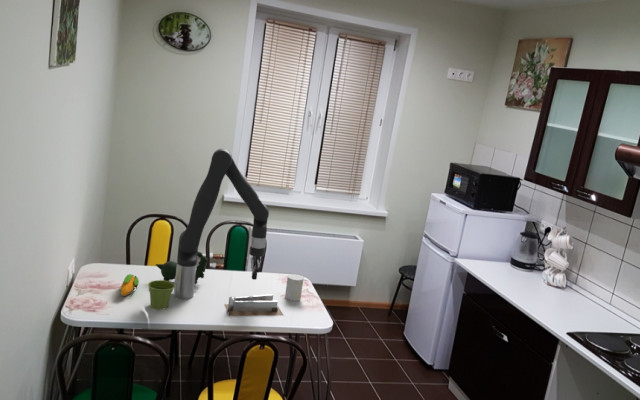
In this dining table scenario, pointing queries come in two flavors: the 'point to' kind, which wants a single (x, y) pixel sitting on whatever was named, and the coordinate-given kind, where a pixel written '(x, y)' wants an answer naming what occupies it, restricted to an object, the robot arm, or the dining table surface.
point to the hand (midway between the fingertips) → (254, 279)
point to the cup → (294, 287)
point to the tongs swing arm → (256, 298)
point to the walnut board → (253, 313)
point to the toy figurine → (170, 267)
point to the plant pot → (160, 293)
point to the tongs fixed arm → (252, 306)
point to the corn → (129, 284)
